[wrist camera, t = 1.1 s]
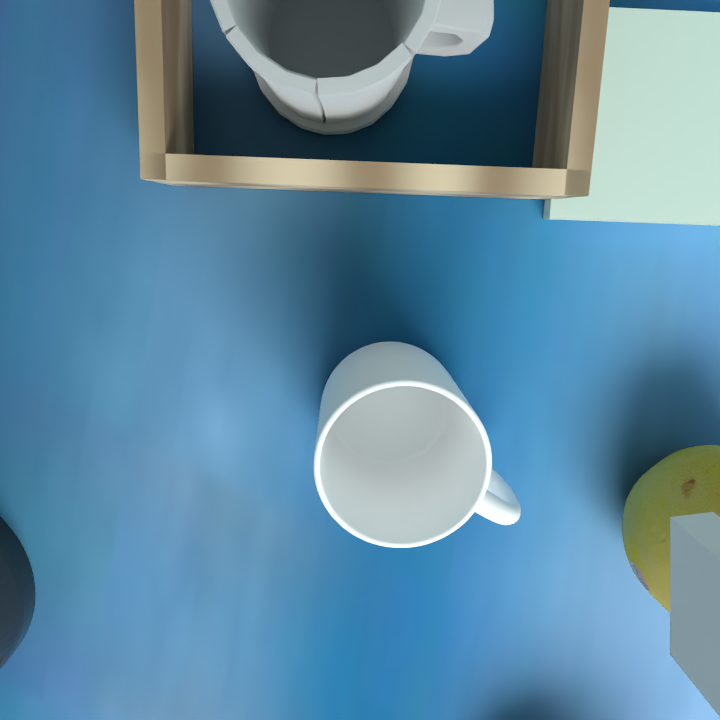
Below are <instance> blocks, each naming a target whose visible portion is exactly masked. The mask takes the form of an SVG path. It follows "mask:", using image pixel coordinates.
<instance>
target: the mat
mask: <svg viewBox="0 0 720 720" xmlns="http://www.w3.org/2000/svg"><path fill="white" fill-rule="evenodd" d="M543 219H557V220H584V221H611V222H638V223H665V224H692V225H719V226H720V12H702V11H680V10H659V9H638V8H617V7H609V14H608V23H607V33H606V42H605V51H604V60H603V69H602V78H601V88H600V97H599V106H598V115H597V124H596V134H595V143H594V152H593V161H592V170H591V179H590V189H589V196H583V197H573V198H562V199H545V203H544V213H543Z"/></svg>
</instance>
